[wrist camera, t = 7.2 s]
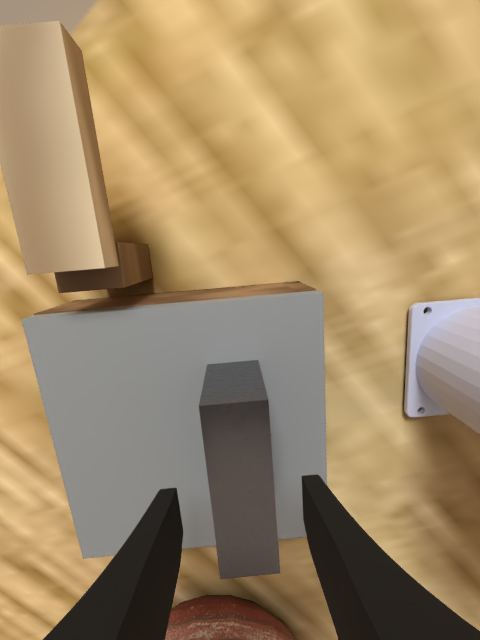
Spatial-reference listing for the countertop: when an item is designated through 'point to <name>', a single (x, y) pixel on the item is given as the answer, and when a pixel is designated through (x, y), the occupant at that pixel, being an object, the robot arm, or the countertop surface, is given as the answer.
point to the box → (139, 269)
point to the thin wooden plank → (52, 152)
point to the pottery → (224, 620)
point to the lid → (188, 418)
